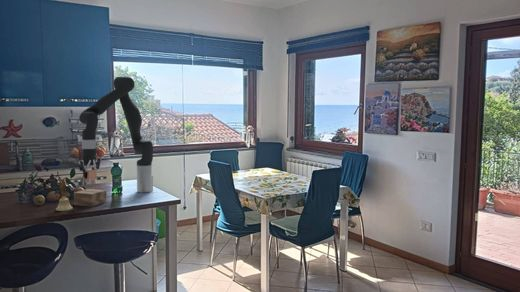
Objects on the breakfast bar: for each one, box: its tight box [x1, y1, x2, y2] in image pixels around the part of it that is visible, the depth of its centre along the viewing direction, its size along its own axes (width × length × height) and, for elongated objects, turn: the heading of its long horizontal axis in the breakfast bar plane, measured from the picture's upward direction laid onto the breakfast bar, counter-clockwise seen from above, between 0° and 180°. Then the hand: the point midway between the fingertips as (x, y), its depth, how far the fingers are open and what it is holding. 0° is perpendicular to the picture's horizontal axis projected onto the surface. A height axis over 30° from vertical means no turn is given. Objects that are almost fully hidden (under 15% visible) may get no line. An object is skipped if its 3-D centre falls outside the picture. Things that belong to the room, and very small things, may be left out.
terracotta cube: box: [82, 168, 98, 181], centre depth 233 cm, size 5×5×5 cm
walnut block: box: [73, 188, 107, 208], centre depth 234 cm, size 12×12×7 cm
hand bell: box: [55, 178, 74, 212], centre depth 220 cm, size 8×8×16 cm
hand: (89, 177), depth 233 cm, fingers closed on terracotta cube, 5 cm apart
